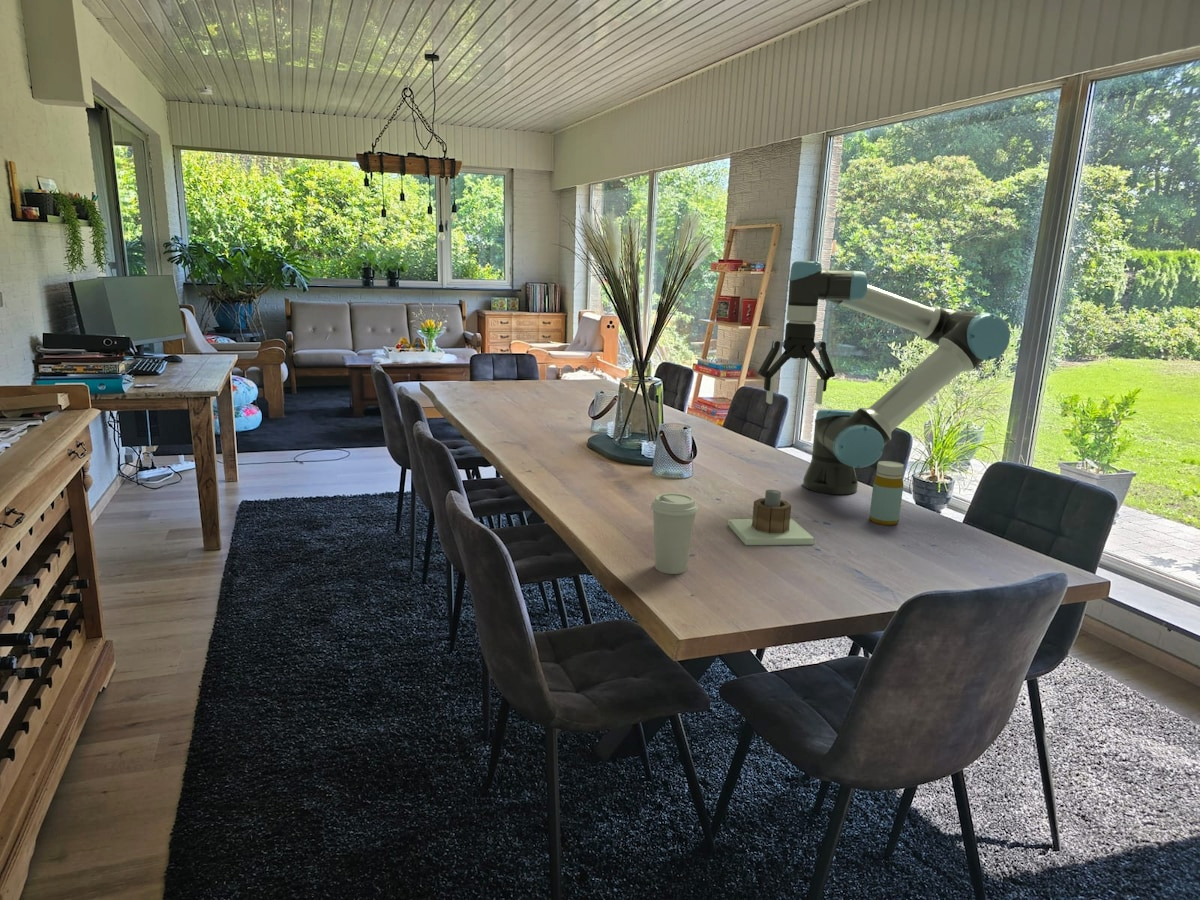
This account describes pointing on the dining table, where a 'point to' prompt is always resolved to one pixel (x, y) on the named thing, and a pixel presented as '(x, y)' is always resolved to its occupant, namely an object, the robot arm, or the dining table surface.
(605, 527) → the dining table surface
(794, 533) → the post stand
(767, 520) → the collar
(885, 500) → the bottle
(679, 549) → the coffee cup
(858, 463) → the robot arm
